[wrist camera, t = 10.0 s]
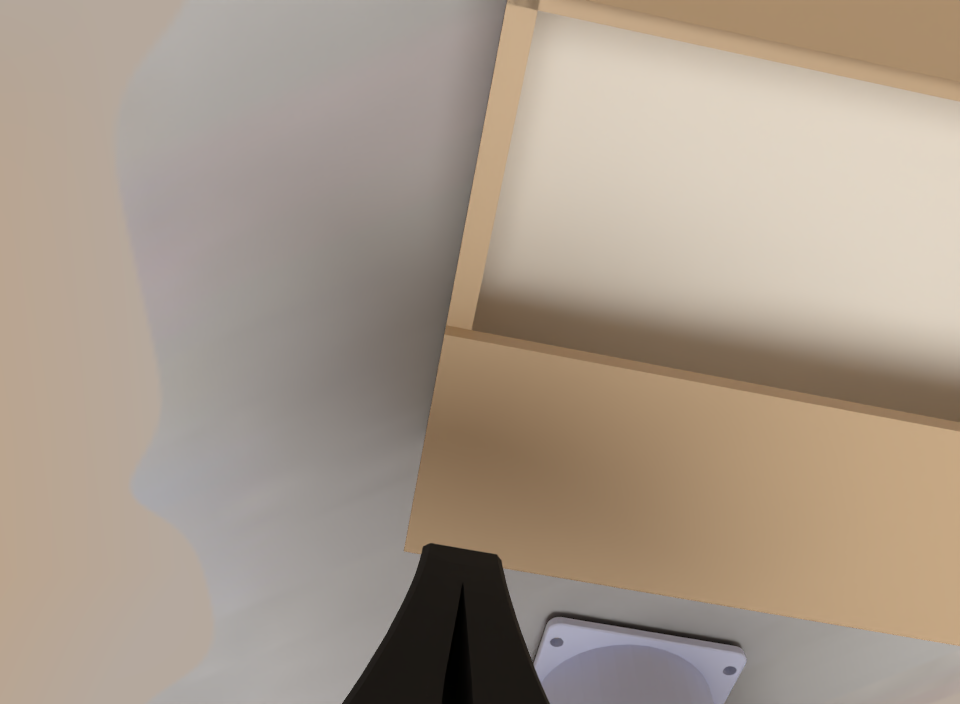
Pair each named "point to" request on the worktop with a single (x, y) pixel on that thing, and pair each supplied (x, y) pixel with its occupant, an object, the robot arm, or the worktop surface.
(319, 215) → the worktop surface
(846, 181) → the carton
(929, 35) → the flap
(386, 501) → the worktop surface
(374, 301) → the worktop surface
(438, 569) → the robot arm
